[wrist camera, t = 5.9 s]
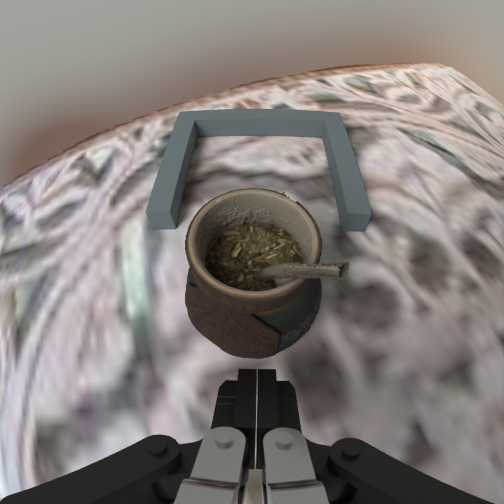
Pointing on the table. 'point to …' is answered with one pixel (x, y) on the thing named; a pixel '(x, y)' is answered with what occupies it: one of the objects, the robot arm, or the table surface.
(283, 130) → the frame
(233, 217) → the mate gourd
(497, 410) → the table surface
